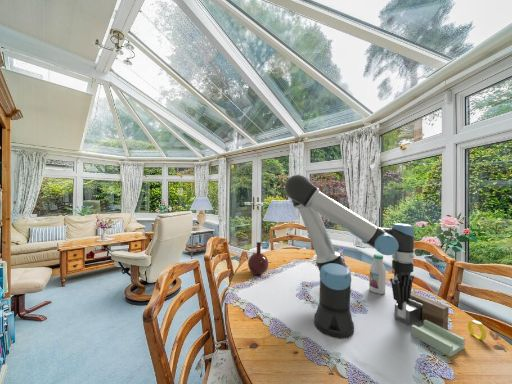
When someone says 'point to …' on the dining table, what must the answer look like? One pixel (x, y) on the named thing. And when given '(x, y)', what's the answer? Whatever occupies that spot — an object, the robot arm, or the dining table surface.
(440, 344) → the cradle
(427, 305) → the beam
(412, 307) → the grey rectangular bar
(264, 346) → the dining table surface
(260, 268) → the round-bottom flask
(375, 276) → the milk bottle
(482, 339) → the yellow ring
